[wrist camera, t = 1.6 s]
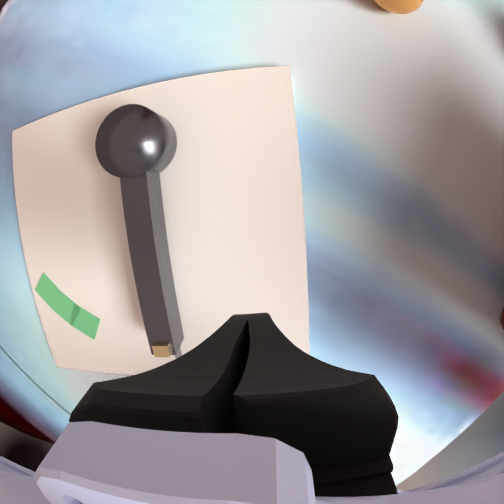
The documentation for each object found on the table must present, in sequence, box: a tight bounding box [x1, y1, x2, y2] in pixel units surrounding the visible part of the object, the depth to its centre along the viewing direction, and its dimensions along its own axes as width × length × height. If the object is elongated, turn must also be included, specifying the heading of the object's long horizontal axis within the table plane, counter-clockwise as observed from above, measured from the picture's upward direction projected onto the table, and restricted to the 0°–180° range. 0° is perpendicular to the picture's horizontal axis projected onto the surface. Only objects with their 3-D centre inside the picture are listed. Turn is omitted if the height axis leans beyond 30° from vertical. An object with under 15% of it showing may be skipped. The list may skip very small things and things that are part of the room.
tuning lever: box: [95, 104, 184, 358], centre depth 17 cm, size 14×4×3 cm, turn 5°
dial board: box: [12, 66, 309, 375], centre depth 19 cm, size 20×21×1 cm
